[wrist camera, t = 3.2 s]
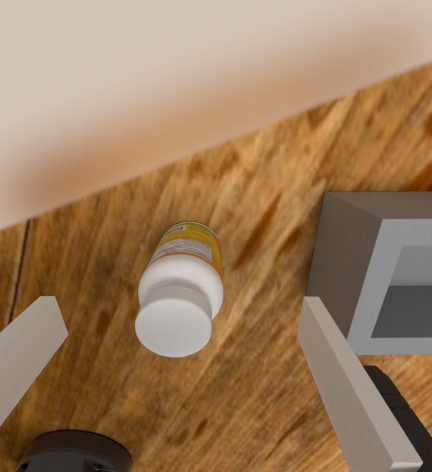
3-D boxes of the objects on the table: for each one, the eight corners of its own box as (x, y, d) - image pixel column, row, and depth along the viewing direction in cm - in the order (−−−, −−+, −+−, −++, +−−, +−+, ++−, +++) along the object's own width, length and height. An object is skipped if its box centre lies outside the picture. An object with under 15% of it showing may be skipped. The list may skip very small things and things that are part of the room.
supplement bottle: (209, 280, 22) (205, 376, 13) (154, 263, 21) (111, 354, 12) (229, 231, 20) (242, 305, 11) (170, 211, 19) (132, 273, 10)
